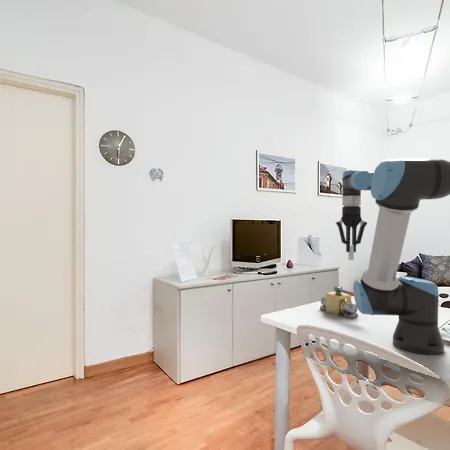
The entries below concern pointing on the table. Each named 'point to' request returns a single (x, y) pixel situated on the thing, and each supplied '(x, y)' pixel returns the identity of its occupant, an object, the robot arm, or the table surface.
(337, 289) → the lever
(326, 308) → the valve
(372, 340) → the table surface
